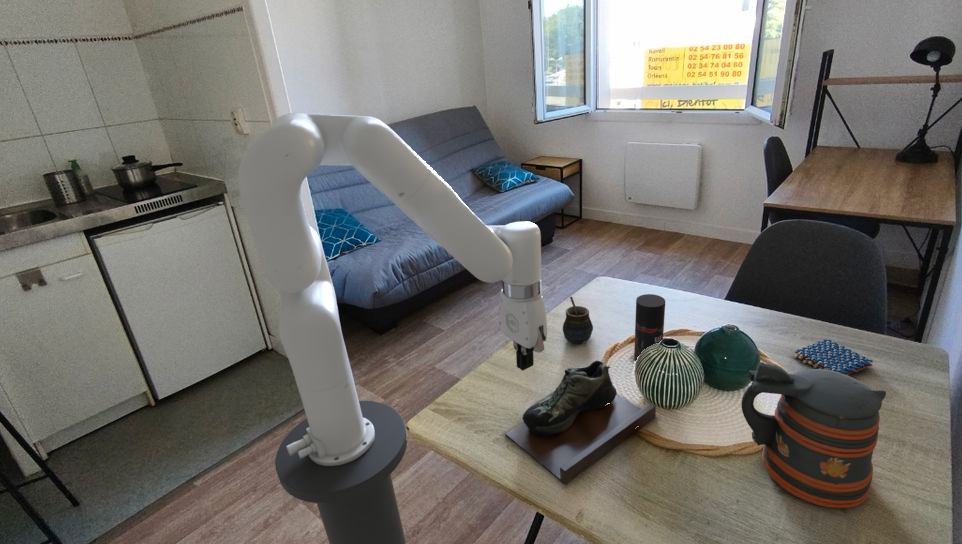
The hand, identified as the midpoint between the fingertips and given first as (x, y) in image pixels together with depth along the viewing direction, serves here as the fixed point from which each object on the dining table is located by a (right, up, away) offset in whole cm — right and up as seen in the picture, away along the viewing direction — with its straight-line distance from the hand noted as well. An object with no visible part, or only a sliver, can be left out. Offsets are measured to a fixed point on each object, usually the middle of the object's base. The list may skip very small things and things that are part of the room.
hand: (525, 366), depth 104 cm
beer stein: (+43, -13, -22) cm, 50 cm away
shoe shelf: (+10, -10, -8) cm, 16 cm away
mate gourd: (+14, +3, +20) cm, 25 cm away
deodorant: (+28, 0, +10) cm, 30 cm away
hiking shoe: (+8, -8, -4) cm, 13 cm away
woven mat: (+65, 0, +3) cm, 65 cm away
